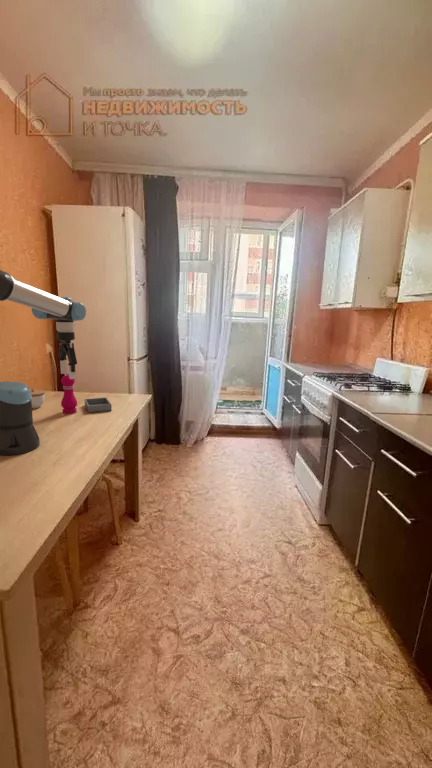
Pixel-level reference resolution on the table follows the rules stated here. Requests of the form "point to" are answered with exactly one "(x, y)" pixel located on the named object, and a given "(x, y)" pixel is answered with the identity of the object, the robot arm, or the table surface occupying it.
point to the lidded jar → (37, 398)
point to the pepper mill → (68, 395)
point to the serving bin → (97, 405)
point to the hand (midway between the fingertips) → (68, 376)
